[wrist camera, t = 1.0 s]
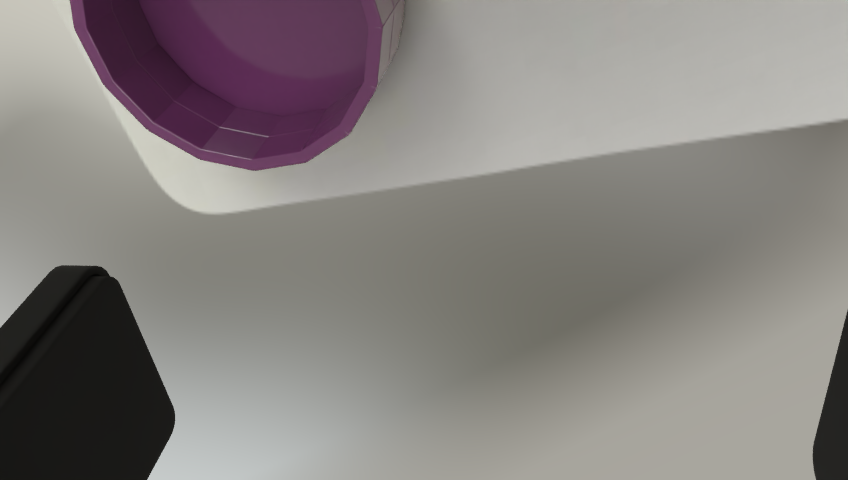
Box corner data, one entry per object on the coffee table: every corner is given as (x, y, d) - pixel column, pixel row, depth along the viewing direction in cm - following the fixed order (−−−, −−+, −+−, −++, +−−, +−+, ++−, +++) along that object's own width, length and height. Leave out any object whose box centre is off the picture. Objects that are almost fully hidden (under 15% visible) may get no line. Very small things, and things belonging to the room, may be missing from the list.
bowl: (74, -127, 34) (6, -101, 30) (352, -213, 31) (315, -196, 27) (198, 137, 41) (156, 187, 37) (437, 94, 38) (418, 145, 34)
